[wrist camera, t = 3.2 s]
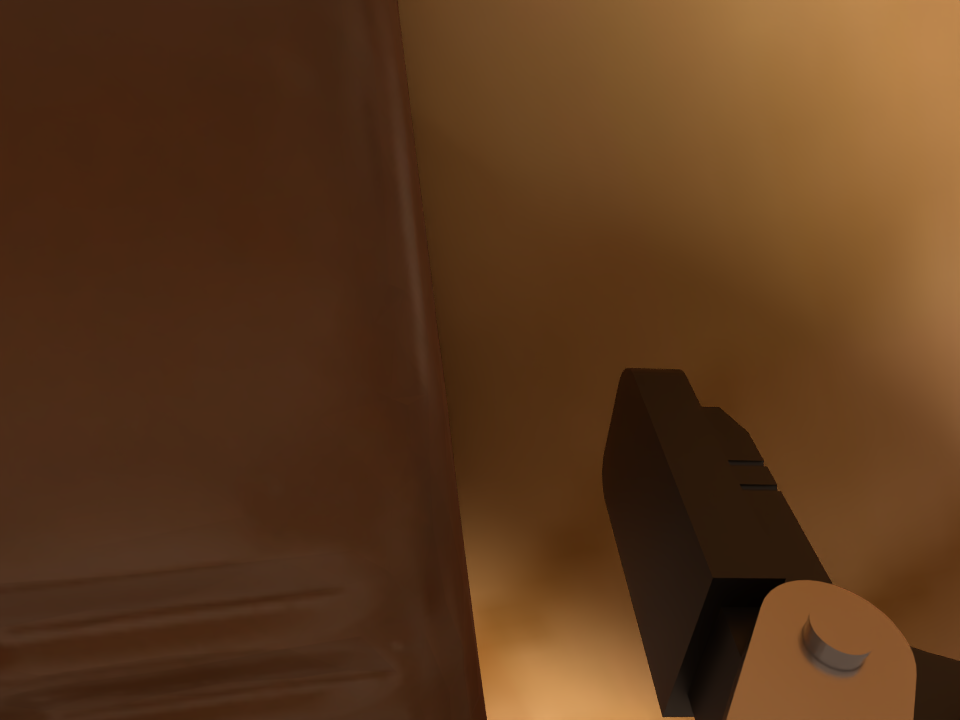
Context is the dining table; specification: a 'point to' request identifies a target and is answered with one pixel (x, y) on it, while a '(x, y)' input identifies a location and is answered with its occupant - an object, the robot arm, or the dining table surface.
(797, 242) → the dining table surface
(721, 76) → the dining table surface
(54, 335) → the tin
